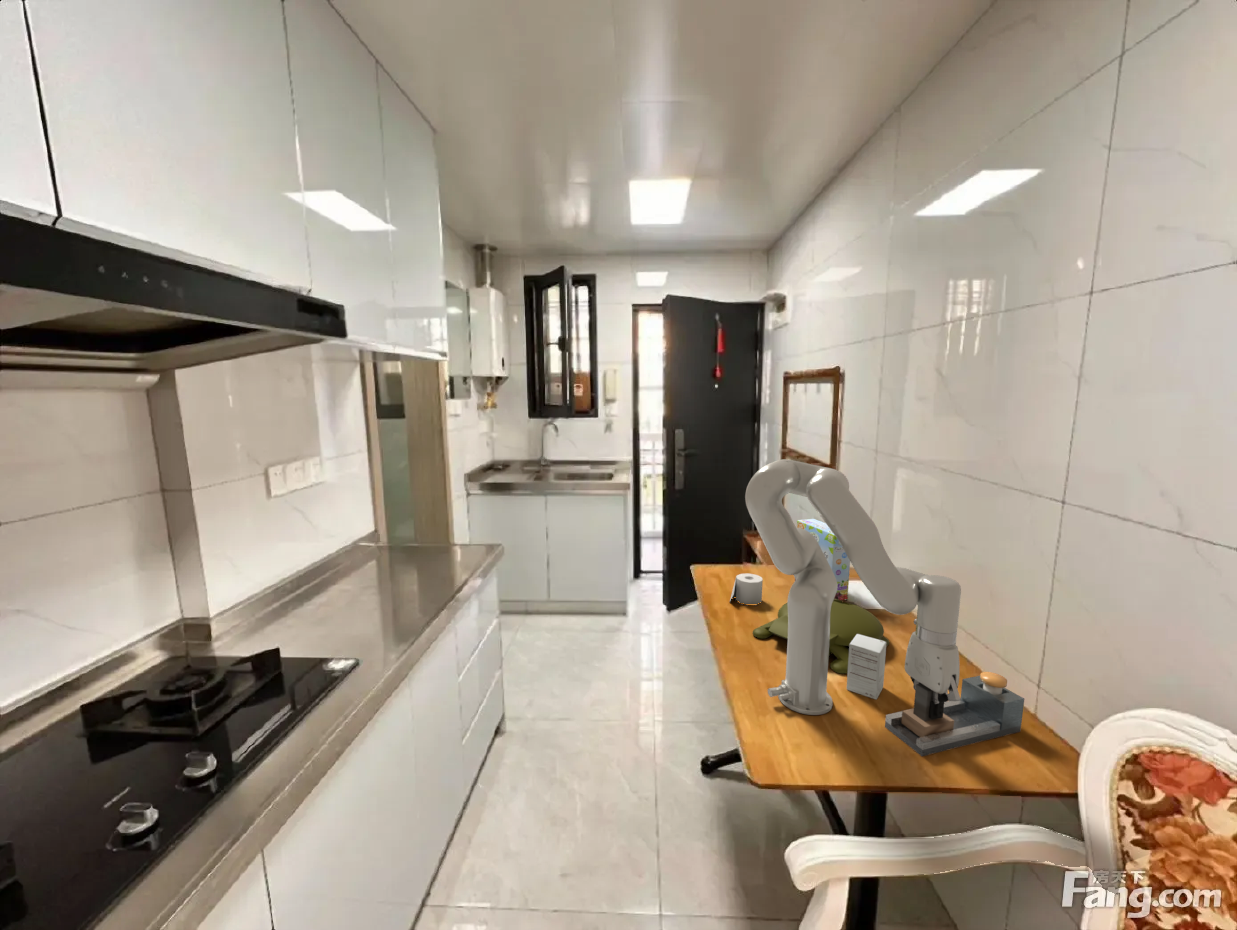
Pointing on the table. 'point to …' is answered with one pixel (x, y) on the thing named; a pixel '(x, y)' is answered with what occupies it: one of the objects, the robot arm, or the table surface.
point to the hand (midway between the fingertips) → (928, 711)
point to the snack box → (830, 553)
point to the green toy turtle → (833, 630)
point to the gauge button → (993, 682)
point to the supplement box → (866, 666)
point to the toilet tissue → (747, 589)
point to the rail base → (966, 719)
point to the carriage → (925, 715)
